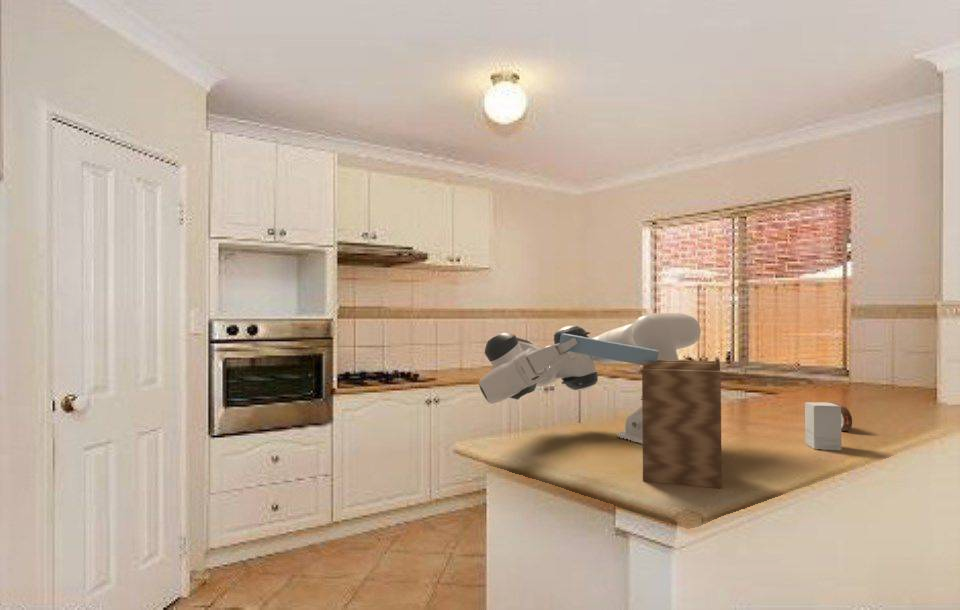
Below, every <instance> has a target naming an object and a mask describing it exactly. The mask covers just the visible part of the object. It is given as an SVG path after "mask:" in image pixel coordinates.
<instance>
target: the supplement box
mask: <svg viewBox="0 0 960 610" xmlns="http://www.w3.org/2000/svg"><path fill="white" fill-rule="evenodd" d="M833 403H834V402H832V403H828V402H826V401H825V402H824V401H821V402H817V401H816V402H812V401H811V402H808V401H806V402H804V421H805V422H804V425H805V426H804V427H805V428H804V431H805V438H804V439H805V442H804V443H805V445H806V446H808V447H810V448H811V449H813V450H818V449H821V450H820V451H842V431H841V406H838V405H836V404H837V403H835V404H833Z"/></svg>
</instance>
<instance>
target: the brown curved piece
mask: <svg viewBox="0 0 960 610" xmlns="http://www.w3.org/2000/svg"><path fill="white" fill-rule="evenodd" d="M827 403H833V404H836V405H838V406H841V432H848V431H850V430H851V429H852V426H853V417H852V415H851V411H850V410H849V408H847V406H845V405H841V404H839V403H835V402H832V401H829V402H827Z"/></svg>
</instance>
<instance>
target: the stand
mask: <svg viewBox="0 0 960 610" xmlns="http://www.w3.org/2000/svg"><path fill="white" fill-rule="evenodd" d="M720 360H721V359H720V358H719V357H718V356H715V357H714V361H713V360H685V359H684V360H683V359H681V360H680V359H679V360H657V362H646V361H644V362H643V365H642V366H643V368H642V369H641V383H642V384H641V385H642V386H641V389H642V391H641V395H642V396H641V399H642V400H641V403H642V405H641V407H642V427H643V444H642V482H650V483H659V484H660V483H661V484H671V485H679V486H681V485H683V486H689V487H690V486H693V487H703V488H713V489H722V487H723V486H722V485H723V482H722V481H723V480H722V479H723V478H722V477H723V476H722V474H723V473H722V472H723V470H722V464H723V463H722V462H723V461H722V384H721V383H722V376H721V375H722V373H721V372H722V371H721V361H720Z"/></svg>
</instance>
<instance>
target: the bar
mask: <svg viewBox="0 0 960 610" xmlns="http://www.w3.org/2000/svg"><path fill="white" fill-rule="evenodd" d="M572 338H576V339H577V341H578V344H577V345H575V346H573V347H571V348H570V349H568V350H567V351H570V352H575V353H580V354H585V355H591V356H596V357H601V358H606V359H612V360H617V361H622V363H629V364H634V365H639V366H643V362H644V361H646V362H657V360H658V354H659V350H654V349H649V348H643V347H637V346H632V345H626V344H621V343H615V342H610V341H604V340H598V339H593V337H589V338H587V337H582V336H576V335H571V334H565V333H563V334H561V336H560V343H559V345H560V344H562V343H564V342H567V341H569V340H571V339H572Z"/></svg>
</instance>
